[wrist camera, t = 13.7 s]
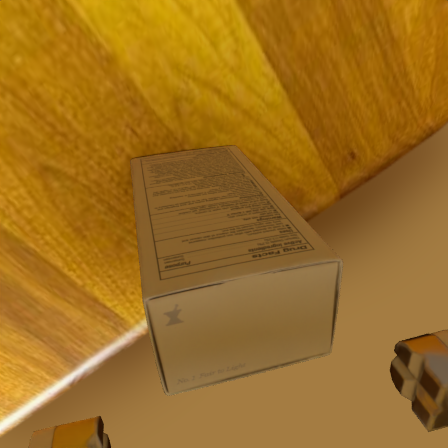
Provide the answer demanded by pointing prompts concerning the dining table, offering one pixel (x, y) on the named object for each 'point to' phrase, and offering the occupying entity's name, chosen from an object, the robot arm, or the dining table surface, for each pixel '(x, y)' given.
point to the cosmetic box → (228, 270)
